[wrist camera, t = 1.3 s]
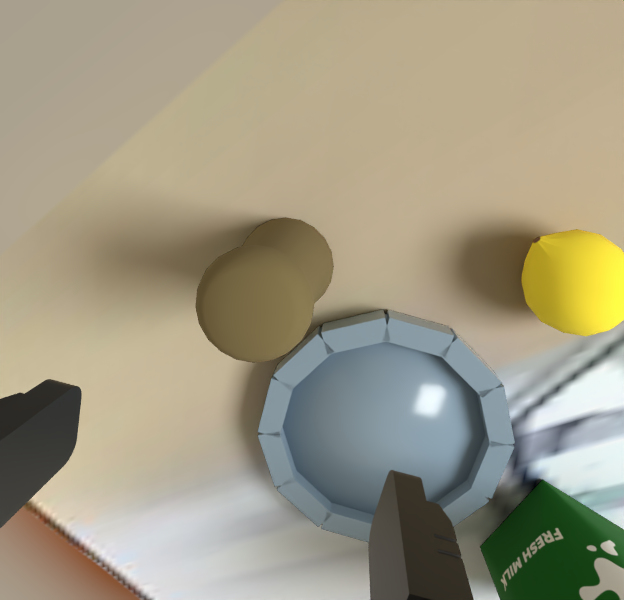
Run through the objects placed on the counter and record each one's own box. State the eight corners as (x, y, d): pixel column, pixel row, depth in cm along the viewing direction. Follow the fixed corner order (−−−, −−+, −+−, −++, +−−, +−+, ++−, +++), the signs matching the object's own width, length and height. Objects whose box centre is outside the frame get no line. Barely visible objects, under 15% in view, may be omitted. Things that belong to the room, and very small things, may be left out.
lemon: (620, 277, 28) (689, 309, 23) (547, 334, 30) (596, 376, 24) (554, 195, 26) (613, 211, 21) (480, 259, 28) (518, 288, 23)
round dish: (297, 284, 30) (293, 291, 28) (539, 351, 29) (551, 362, 28) (244, 488, 34) (238, 504, 32) (455, 548, 34) (460, 568, 32)
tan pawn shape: (228, 293, 30) (160, 355, 20) (254, 204, 29) (194, 220, 18) (315, 323, 30) (294, 402, 20) (346, 236, 29) (341, 270, 18)
